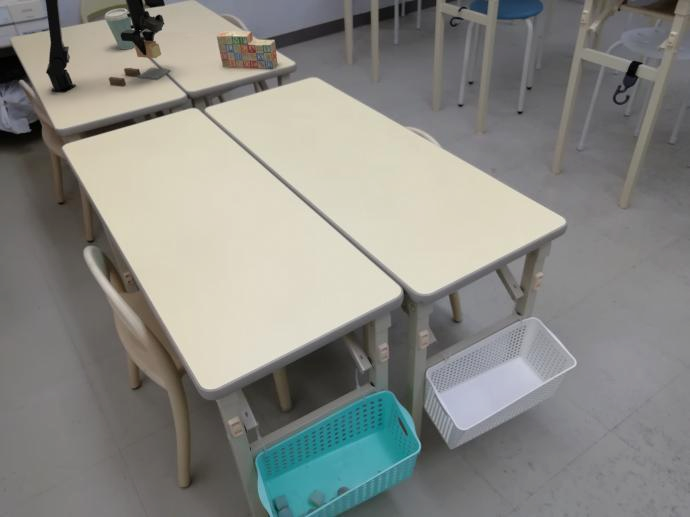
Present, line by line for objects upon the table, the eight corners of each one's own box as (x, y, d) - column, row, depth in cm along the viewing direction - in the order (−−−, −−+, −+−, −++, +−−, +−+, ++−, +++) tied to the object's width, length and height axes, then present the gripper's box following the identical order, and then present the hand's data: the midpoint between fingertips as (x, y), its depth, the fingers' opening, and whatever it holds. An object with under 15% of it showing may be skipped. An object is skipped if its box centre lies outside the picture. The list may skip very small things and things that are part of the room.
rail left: (123, 86, 201) (121, 79, 200) (110, 84, 203) (108, 78, 201) (126, 84, 202) (124, 78, 201) (113, 83, 204) (110, 76, 202)
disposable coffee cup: (131, 51, 232) (120, 15, 222) (109, 51, 233) (97, 14, 224) (143, 43, 239) (133, 7, 230) (121, 43, 241) (111, 7, 232)
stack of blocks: (278, 63, 212) (274, 31, 205) (273, 69, 208) (268, 36, 200) (228, 61, 217) (222, 30, 209) (222, 67, 212) (216, 35, 204)
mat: (157, 79, 205) (157, 78, 204) (138, 77, 207) (137, 76, 207) (170, 71, 211) (170, 69, 211) (151, 69, 214) (151, 67, 213)
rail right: (138, 76, 208) (136, 70, 206) (125, 75, 210) (123, 69, 208) (140, 75, 209) (139, 68, 207) (128, 74, 211) (126, 67, 209)
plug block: (155, 58, 202) (152, 44, 199) (137, 56, 204) (133, 43, 201) (161, 54, 205) (157, 41, 202) (143, 53, 207) (139, 40, 204)
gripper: (140, 18, 185) (152, 63, 195) (169, 3, 198) (179, 46, 208) (113, 16, 188) (126, 61, 198) (144, 2, 201) (155, 44, 211)
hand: (148, 53), depth 204 cm, fingers closed on plug block, 4 cm apart
